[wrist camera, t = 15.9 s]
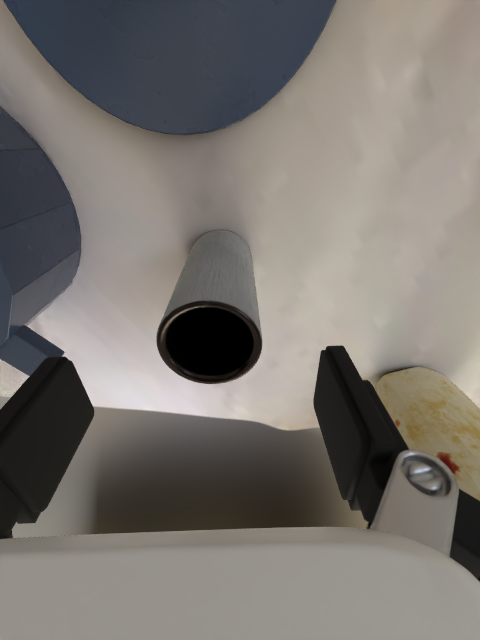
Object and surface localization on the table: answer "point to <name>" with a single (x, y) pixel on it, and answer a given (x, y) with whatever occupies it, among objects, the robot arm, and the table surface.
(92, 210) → the table surface
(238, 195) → the table surface
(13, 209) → the pot
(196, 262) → the grey tube
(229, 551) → the robot arm
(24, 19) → the lid
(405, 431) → the food model
